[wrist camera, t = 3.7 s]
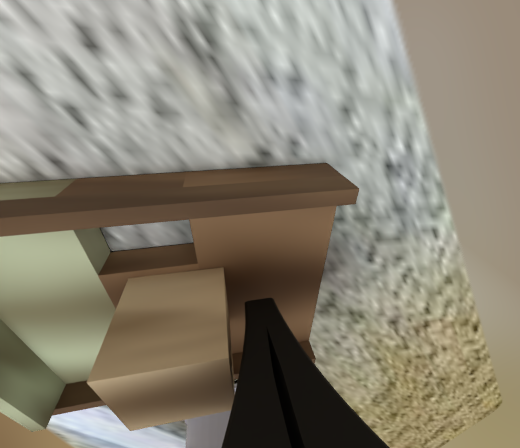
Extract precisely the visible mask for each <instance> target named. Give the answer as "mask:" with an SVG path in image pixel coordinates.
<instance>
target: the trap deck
mask: <svg viewBox="0 0 520 448" xmlns="http://www.w3.org/2000/svg"><path fill="white" fill-rule="evenodd" d="M358 192H359V188H358V187H357V186H355V185H354V184H353V183H351V182H350V181H349V180H348V179H346V178H345V177H344V176H343V175H341V174H340V173H339V172H338V171H336V170H335V169H334V168H332V167H331V166H330V165H329V164H327V163H320V164H304V165H288V166H272V167H256V168H240V169H224V170H208V171H192V172H176V173H160V174H144V175H128V176H112V177H96V178H81V179H65V180H49V181H33V182H17V183H1V184H0V412H2V413H3V414H5V415H6V416H8V417H9V418H11V419H13V420H14V421H16V422H18V423H19V424H20V425H22V426H24V427H25V428H27V429H29V430H30V431H32V432H33V431H38V430H43V429H46V427H47V425H48V423H49V420H50V418H51V416H52V415H57V414H62V413H67V412H73V411H78V410H83V409H88V408H93V407H98V406H103V405H106V404H105V403H104V401H103V400H102V399H101V398H100V397H99V396H98V395H97V394H96V393H95V391H94V390H93V389H92V388H91V387H90V386H89V385H88V384H87V380H88V378H89V375H90V373H91V370H92V368H93V365H94V363H95V360H96V358H97V355H98V353H99V350H100V348H101V345H102V343H103V340H104V338H105V335H106V333H107V330H108V328H109V325H110V323H111V321H112V318H113V316H114V313H115V311H116V308H117V306H118V303H119V301H120V298H121V296H122V293H123V291H124V288H125V286H126V283H127V281H128V279H129V278H137V277H145V276H154V275H162V274H171V273H179V272H188V271H196V270H204V269H213V268H221V267H223V268H224V276H225V285H226V293H227V301H228V310H229V318H230V331H231V345H232V359H233V374H234V379H238V376H239V371H240V365H241V359H242V353H243V345H244V336H245V302H246V301H250V300H257V299H264V298H273V299H274V301H275V303H276V305H277V307H278V309H279V311H280V313H281V315H282V316H283V318H284V320H285V322H286V323H287V325H288V327H289V328H290V330H291V331H292V333H293V334H294V336H295V337H296V339H297V340H298V342H299V343H300V345H301V346H302V348H303V349H304V351H305V352H306V353H307V355H308V356H309V358H310V359H311V360H312V362H313V363H315V359H316V358H315V356H314V353H313V350H312V348H311V345H310V342H309V337H310V332H311V327H312V322H313V318H314V313H315V308H316V303H317V298H318V293H319V289H320V284H321V279H322V274H323V269H324V264H325V260H326V255H327V250H328V245H329V240H330V236H331V231H332V226H333V221H334V216H335V211H336V207H337V206H339V205H350V204H355V203H356V199H357V196H358ZM188 219H189V221H190V226H191V231H192V236H193V241H194V243H191V244H182V245H173V246H163V247H154V248H145V249H135V250H126V251H117V252H110V250H109V248H108V245H107V243H106V241H105V239H104V237H103V235H102V232H101V230H100V228H101V227H112V226H123V225H133V224H144V223H155V222H166V221H177V220H188Z"/></svg>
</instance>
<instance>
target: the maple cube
mask: <svg viewBox="0 0 520 448" xmlns="http://www.w3.org/2000/svg"><path fill="white" fill-rule="evenodd" d="M87 384H88V385H89V386H90V387H91V388H92V389H93V390H94V391H95V393H96V394H97V395H98V396H99V397H100V398H101V399H102V400H103V401H104V403H105V404H106V405H107V406H108V407H109V408H110V409H111V410H112V411H113V413H114V414H115V415H116V416H117V417H118V418H119V419H120V420H121V421H122V422H123V424H124V425H125V426H126V427H127V428H128V429H129V430H130V431H132V430H137V429H142V428H147V427H152V426H157V425H162V424H167V423H171V422H176V421H181V420H186V419H191V418H196V417H201V416H206V415H211V414H215V413H220V412H225V411H230V410H231V409H232V404H233V400H234V396H235V388H234V374H233V359H232V345H231V331H230V318H229V310H228V301H227V293H226V285H225V276H224V268H223V267H221V268H213V269H204V270H196V271H188V272H179V273H171V274H162V275H154V276H145V277H137V278H129V279H128V281H127V283H126V286H125V288H124V291H123V293H122V296H121V298H120V301H119V303H118V306H117V308H116V311H115V313H114V316H113V318H112V321H111V323H110V325H109V328H108V330H107V333H106V335H105V338H104V340H103V343H102V345H101V348H100V350H99V353H98V355H97V358H96V360H95V363H94V365H93V368H92V370H91V373H90V375H89V378H88V380H87Z"/></svg>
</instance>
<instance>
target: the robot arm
mask: <svg viewBox="0 0 520 448" xmlns="http://www.w3.org/2000/svg"><path fill="white" fill-rule="evenodd" d="M234 388H235V396H234V400H233V404H232V409H231V410H230V411H225V412H220V413H215V414H211V415H206V416H201V417H196V418H191V419H186V420H184V421H185V423H186V425H187V433H186V448H389V447H388V446H387V445H386V444H385V443H384V442H383V441H382V440H381V439H380V438H379V437H378V436H377V435H376V434H375V433H374V432H373V431H372V430H371V429H370V428H369V426H368V425H367V424H366V423H365V422H364V421H363V420H362V419H361V418H360V417H359V416H358V415H357V414H356V413H355V412H354V410H353V409H352V408H351V407H350V406H349V405H348V404H347V403H346V402H345V401H344V400H343V398H342V397H341V396H340V395H339V394H338V393H337V392H336V390H335V389H334V388H333V387H332V386H331V384H330V383H329V382H328V381H327V380H326V378H325V377H324V376H323V375H322V373H321V372H320V371H319V370H318V368H317V367H316V366H315V364H314V363H313V362H312V360H311V359H310V358H309V356H308V355H307V353H306V352H305V351H304V349H303V348H302V346H301V345H300V343H299V342H298V340H297V339H296V337H295V336H294V334H293V333H292V331H291V330H290V328H289V327H288V325H287V323H286V322H285V320H284V318H283V316H282V315H281V313H280V311H279V309H278V307H277V305H276V303H275V301H274V299H273V298H264V299H257V300H250V301H246V302H245V336H244V345H243V353H242V359H241V365H240V371H239V376H238V381H237V383H236V384H234Z"/></svg>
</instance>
